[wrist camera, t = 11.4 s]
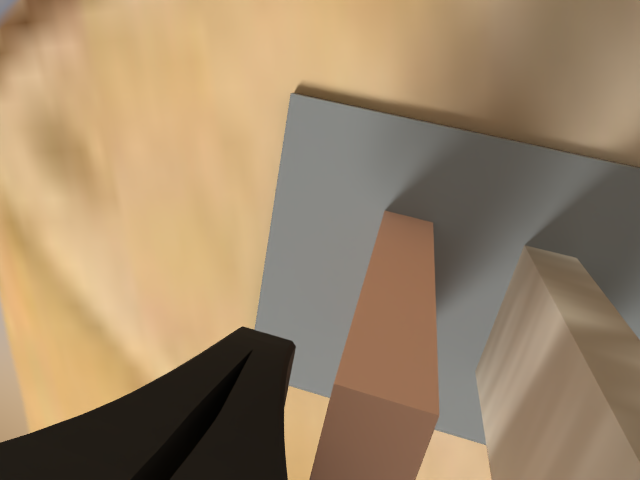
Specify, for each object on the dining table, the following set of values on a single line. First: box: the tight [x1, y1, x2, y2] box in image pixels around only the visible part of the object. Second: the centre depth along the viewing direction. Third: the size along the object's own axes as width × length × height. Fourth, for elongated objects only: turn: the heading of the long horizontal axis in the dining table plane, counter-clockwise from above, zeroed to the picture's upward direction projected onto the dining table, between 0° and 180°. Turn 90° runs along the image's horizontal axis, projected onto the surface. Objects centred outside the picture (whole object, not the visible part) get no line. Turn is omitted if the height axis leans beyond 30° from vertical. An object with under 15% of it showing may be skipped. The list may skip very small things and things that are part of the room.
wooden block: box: [475, 245, 640, 480], centre depth 11 cm, size 2×5×9 cm, turn 169°
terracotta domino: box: [310, 211, 439, 480], centre depth 12 cm, size 2×5×9 cm, turn 169°
